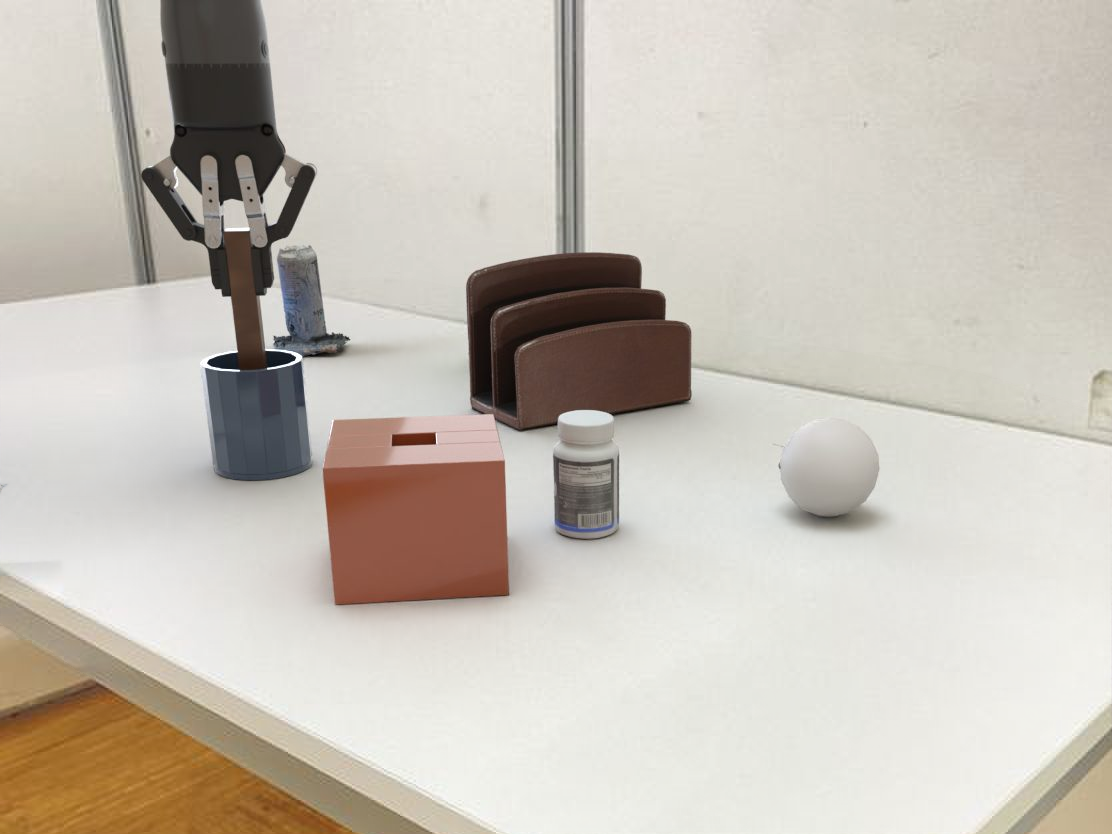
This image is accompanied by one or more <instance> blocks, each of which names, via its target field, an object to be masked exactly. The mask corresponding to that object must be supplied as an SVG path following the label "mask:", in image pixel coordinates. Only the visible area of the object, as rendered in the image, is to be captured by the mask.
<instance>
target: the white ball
mask: <svg viewBox="0 0 1112 834" xmlns="http://www.w3.org/2000/svg"><path fill="white" fill-rule="evenodd" d="M771 445H773V446H776V447H779V448H783V449H782V451H781V455H780V460H779V463H778V468H779V476H780V481H781V484H782V486H783V488H784V490H785V492H786V494H787V497H788V498H789V499H790V500H791V501H792V502H793V503H794V504H795V505H796V506H797V507H798V508H800V509H801V510H803V511H805V512H807V513H810V514H812V515H814V516H818V517H823V518H824V517H825V518H832V517H837V516H841V515H844V514H848V513H851V512H853V511H854V510H856V509H857V508H859V507H860V506H861V505H862V504H864V503H865V502H866V501H867V500H868V498H869V497H870V496H871V494H872V492H873V491H874V490H875V487H876V485H877V481H878V477H879V473H880V460H879V458H880V457H879V453H878V451H877V448H876V446H875V444H874V442H873V440H872V438H871V437H870V436H869V435H868V434H867V433H866V432H865V430H864V429H862V428H861V427H860V426H858V425H856V424H855V423H852V422H851V421H849V420H846V419H843V418H839V417H822V418H818V419H815V420H812V421H810V422H807V423H805V424H803V425H802V426H801V427H800V428H798V429H797V430H795V432H793V433H792V435H791V436H790V437H789V439H788V441H787V443H785V446H783V445H780V444H777V443H772V444H771Z"/></svg>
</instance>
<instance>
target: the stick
mask: <svg viewBox="0 0 1112 834" xmlns="http://www.w3.org/2000/svg"><path fill="white" fill-rule="evenodd" d="M223 236H224V244H225V249H226V257H227V265H228V274H229V282H230V291H231V297H230V302H231V303H230V304H231V311H232V318H233V319H232V320H233V326H234V336H235V343H236V344H235V345H236V351H237V353H238V361H239V370H256V369H265V368H267V359H266V350H265V349H266V341H265V334H264V324H263V323H264V322H263V314H262V307H261V298H260V297H261V296H257V295H256V293H255V285H254V276H253V267H252V258H251V248H252V247H253V243H252V239H251V234H250V229H249V227H227V228H225V230H224V231H223Z"/></svg>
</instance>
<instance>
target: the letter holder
mask: <svg viewBox="0 0 1112 834" xmlns="http://www.w3.org/2000/svg"><path fill="white" fill-rule="evenodd" d="M642 278H643V266H642V262H641V259H640V258H639V257H638V256H636V255H632V254H628V253H627V254H626V253H615V252H593V251H592V252H589V251H588V252H587V251H586V252H583V251H582V252H564V253H553V254H546V255H539V256H533V257H526V258H522V259H516V260H511V261H505V262H502V263H497V264H494V265H491V266H486V267H483V268H480V269H476V270H475V271H473V272H472V273H471V274H470V275H469V276H468V278H467V281H466V284H465V295H466V297H465V298H466V301H465V302H466V324H467V325H466V327H467V340H468V343H467V344H468V353H467V354H468V369H469V394H470V395H469V403H470V407H471V410H475V411H477V412H480V413H482V414H494V417H495V421H498V422H500V423H503V424H505V425H508V426H509V427H510V428H513V429H516V430H517V431H523V430H529V429H533V428H538V427H545V426H553V425H558V417H559V416H560V415H561V414H563V413H566V412H570V411H576V410H595V411H601V412H605V413H608V414H610V415H616V414H620V413H627V412H630V411H631V412H632V411H639V410H643V409H650V408H656V407H662V406H668V405H673V404H679V403H685V402H686V403H687V402H689V401H691V400H692V397H693V396H692V395H693V394H692V393H693V391H692V328H691V327H690V325H689V324H687V322H684V321H680V320H672V319H671V320H668V319H666V315H667V312H666V311H667V310H666V309H667V299H666V296H665V294H664V292H662V291H661V290H657V289H650V288H642V283H643V282H642V281H643V280H642Z"/></svg>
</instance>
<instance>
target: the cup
mask: <svg viewBox="0 0 1112 834" xmlns="http://www.w3.org/2000/svg"><path fill="white" fill-rule="evenodd" d="M265 350H266V359H267V368H265V369H256V370H239V361H238V353H237V350H234V351H227V352H223V353H222V352H221V353H216V354H213V355H210V356H208V357H206V358H204V359H202V360H201V362H200V363H199V366H200V373H201V381H202V389H203V398H204V404H205V412H206V420H207V429H208V435H209V443H210V450H211V459H212V464H213V468H214V472H215V473H216V474H217V475H218V476H220V477H223V478H226V479H230V480H239V481H265V480H276V479H281V478H287V477H291V476H294V475H297V474H300V473H302V472H304V471H306V470H308V469H310V468H311V466H312V465H313V450H312V449H313V447H312V437H311V428H310V418H309V417H310V416H309V408H308V397H307V396H308V395H307V389H306V388H307V385H306V376H305V365H304V357H302V356H301V355H299V354H298V353H295V352H293V351H291V352H290V351H285V350H275V349H267V348H265Z"/></svg>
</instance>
